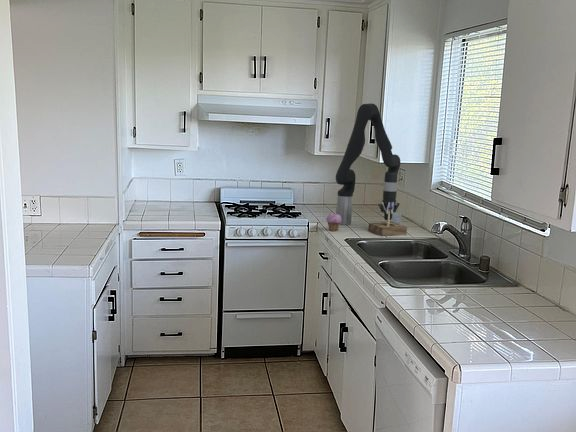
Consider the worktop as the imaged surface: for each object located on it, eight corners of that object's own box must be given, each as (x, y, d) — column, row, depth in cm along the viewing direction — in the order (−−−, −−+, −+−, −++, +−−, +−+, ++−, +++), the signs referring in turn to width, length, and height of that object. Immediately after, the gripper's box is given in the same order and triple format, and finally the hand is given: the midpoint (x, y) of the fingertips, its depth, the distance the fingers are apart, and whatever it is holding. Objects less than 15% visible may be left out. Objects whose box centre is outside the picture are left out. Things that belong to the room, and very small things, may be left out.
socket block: (368, 230, 340) (368, 222, 339) (391, 229, 346) (391, 221, 345) (382, 236, 326) (383, 227, 326) (406, 234, 333) (406, 226, 332)
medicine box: (400, 226, 355) (401, 212, 354) (400, 228, 351) (401, 213, 349) (387, 225, 357) (388, 211, 356) (387, 226, 353) (388, 212, 351)
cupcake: (324, 228, 340) (325, 211, 338) (338, 228, 342) (339, 212, 340) (328, 232, 332) (329, 214, 330) (342, 232, 333) (343, 214, 331)
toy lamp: (381, 230, 336) (383, 201, 333) (385, 228, 339) (387, 200, 336) (389, 231, 333) (391, 202, 330) (393, 230, 336) (395, 201, 333)
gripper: (396, 188, 338) (394, 218, 341) (376, 189, 332) (374, 219, 336) (404, 190, 331) (401, 220, 334) (383, 191, 326) (381, 221, 329)
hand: (387, 219), depth 335 cm, fingers closed on toy lamp
